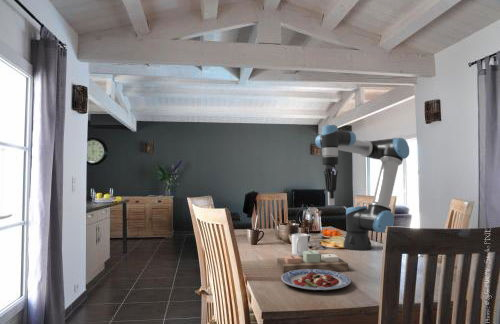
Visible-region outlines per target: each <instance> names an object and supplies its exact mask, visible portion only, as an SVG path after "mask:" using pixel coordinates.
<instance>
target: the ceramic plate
mask: <svg viewBox="0 0 500 324" xmlns="http://www.w3.org/2000/svg"><path fill="white" fill-rule="evenodd" d="M280 279H281V281H282V282H283V283H285V284H287V285H288V286H290V287H295V288H299V289H301V290H302V289H304V290H307V291H308V290H309V291H316V290H323V291H330V290H336V289H341V288H344V287H345V288H346V287H347V286H349V285H350V284H351V282H352V280H351V278H350V277H349V276H348V275H346V274H344V273H342V272H339V271H329V270H321V269H301V270H294V271H290V272H287V273H283V274H282V275H281V278H280Z"/></svg>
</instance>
